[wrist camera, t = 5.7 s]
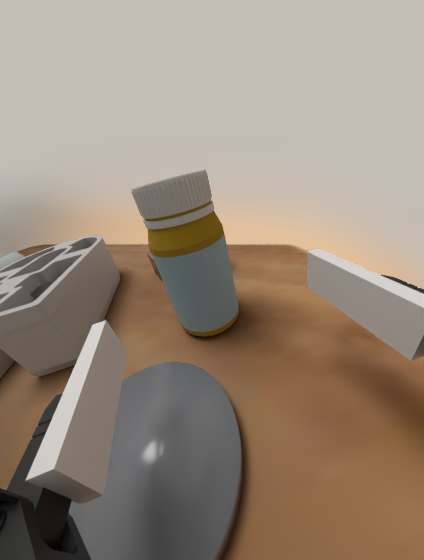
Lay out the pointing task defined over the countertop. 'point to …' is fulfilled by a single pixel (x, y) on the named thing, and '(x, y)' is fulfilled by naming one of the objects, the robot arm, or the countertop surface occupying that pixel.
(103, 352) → the robot arm
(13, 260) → the ceramic mug
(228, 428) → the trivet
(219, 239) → the bottle
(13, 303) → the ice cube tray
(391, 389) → the countertop surface
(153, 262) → the walnut block
